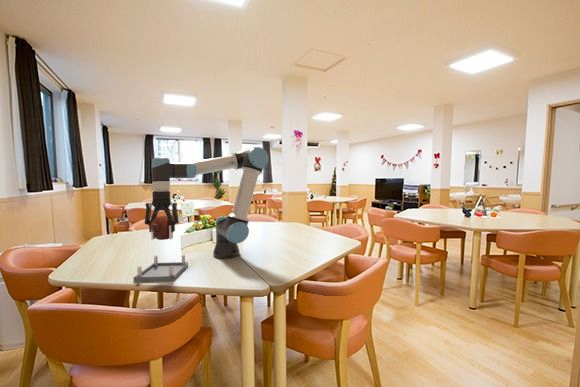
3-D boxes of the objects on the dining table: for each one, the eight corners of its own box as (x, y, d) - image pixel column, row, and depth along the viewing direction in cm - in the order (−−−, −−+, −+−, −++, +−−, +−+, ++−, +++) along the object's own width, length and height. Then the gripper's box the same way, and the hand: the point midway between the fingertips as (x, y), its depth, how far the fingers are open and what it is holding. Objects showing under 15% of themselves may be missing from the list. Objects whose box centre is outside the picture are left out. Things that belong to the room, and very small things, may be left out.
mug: (162, 236, 131) (161, 215, 130) (177, 237, 129) (177, 216, 128) (143, 241, 119) (143, 219, 119) (160, 242, 117) (160, 220, 117)
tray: (188, 265, 135) (187, 254, 135) (173, 280, 116) (173, 267, 115) (154, 266, 134) (153, 255, 134) (133, 281, 114) (133, 268, 114)
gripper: (186, 190, 127) (186, 236, 129) (142, 190, 126) (144, 237, 127) (180, 191, 120) (181, 240, 121) (134, 191, 118) (136, 241, 120)
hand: (162, 238), depth 124 cm, fingers closed on mug, 7 cm apart
